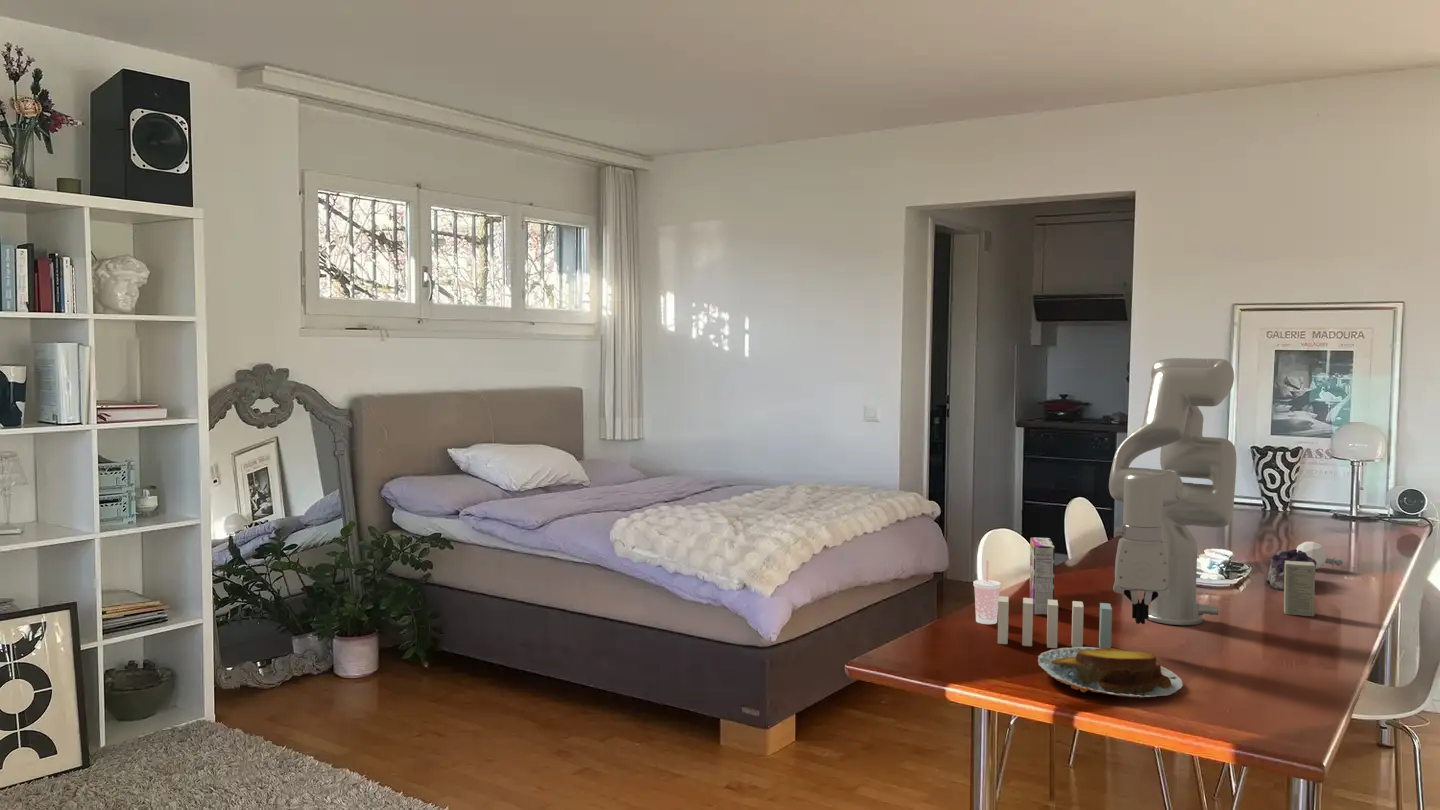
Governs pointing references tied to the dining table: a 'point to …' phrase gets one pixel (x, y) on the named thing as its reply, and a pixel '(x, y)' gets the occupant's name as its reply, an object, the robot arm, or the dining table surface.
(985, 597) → the beverage cup
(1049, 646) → the domino
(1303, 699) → the dining table surface
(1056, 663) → the food on plate
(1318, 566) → the perfume bottle
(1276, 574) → the geode
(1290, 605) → the skincare box
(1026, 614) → the domino
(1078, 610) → the domino
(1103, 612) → the domino
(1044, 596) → the candy bar box
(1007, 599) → the domino
